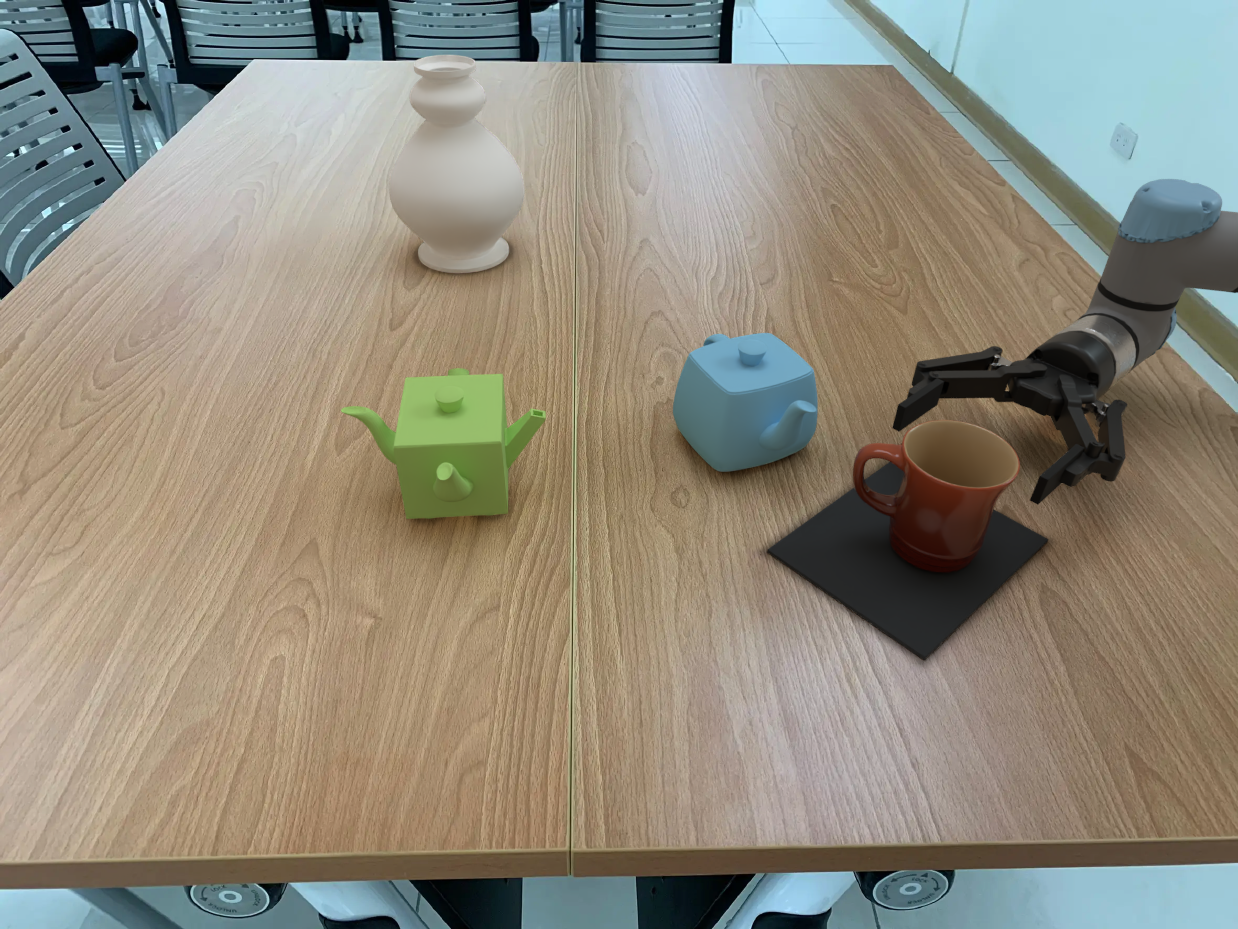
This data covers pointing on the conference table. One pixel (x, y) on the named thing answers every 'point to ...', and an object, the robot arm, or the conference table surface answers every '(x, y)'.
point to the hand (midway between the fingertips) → (964, 452)
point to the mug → (940, 490)
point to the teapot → (745, 401)
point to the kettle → (452, 443)
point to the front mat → (900, 567)
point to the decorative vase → (455, 172)
